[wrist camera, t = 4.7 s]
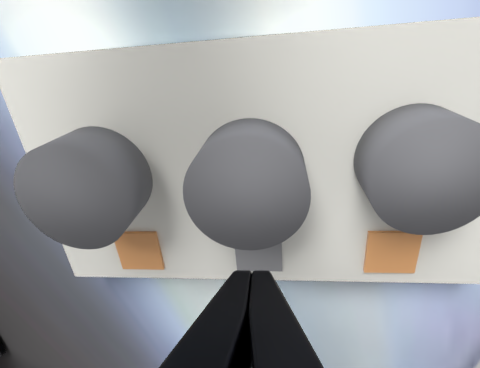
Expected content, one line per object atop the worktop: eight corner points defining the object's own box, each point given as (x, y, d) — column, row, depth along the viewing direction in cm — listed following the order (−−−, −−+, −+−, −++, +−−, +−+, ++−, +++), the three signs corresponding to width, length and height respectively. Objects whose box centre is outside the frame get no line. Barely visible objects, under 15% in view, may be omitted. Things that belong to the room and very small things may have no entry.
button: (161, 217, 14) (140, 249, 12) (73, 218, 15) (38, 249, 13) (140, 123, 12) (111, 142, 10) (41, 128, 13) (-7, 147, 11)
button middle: (304, 215, 13) (309, 250, 11) (205, 217, 14) (192, 249, 12) (305, 115, 11) (312, 133, 9) (191, 121, 12) (172, 139, 10)
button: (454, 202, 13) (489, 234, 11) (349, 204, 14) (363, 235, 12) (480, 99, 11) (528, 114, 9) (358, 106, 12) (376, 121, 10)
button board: (459, 257, 17) (483, 286, 15) (93, 254, 20) (73, 279, 18) (530, 12, 12) (580, 7, 10) (23, 56, 15) (-16, 59, 13)
